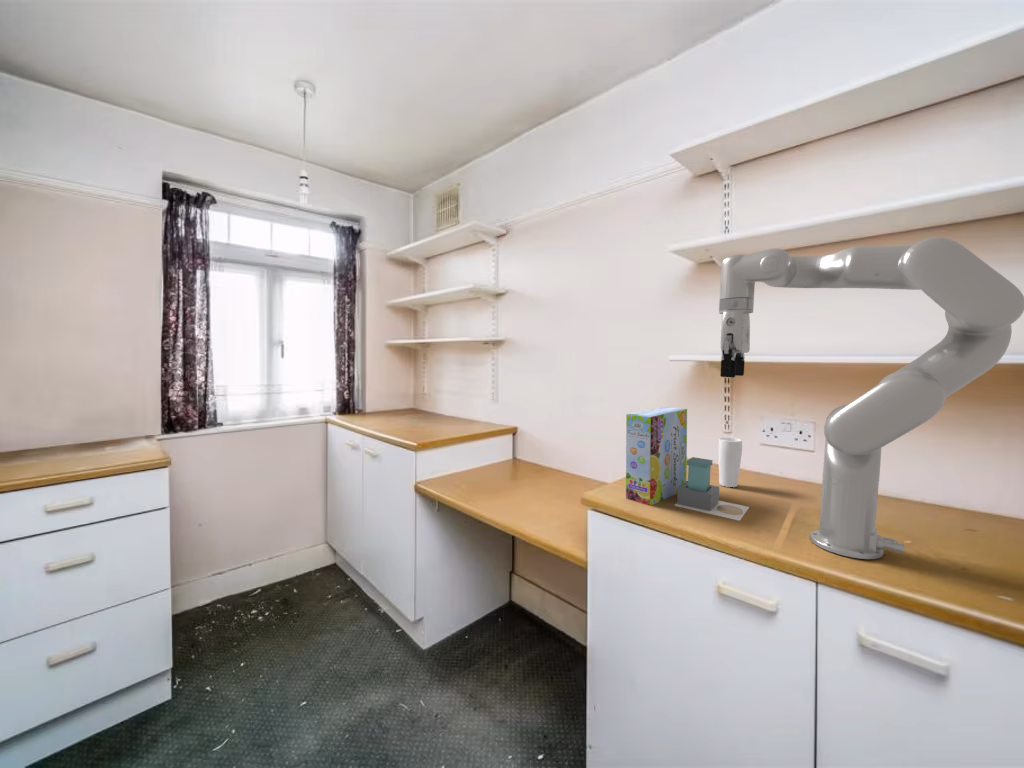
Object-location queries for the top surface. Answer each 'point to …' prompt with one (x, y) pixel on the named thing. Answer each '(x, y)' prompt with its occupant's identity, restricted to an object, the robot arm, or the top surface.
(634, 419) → the snack box
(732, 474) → the drinking glass
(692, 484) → the plug
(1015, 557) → the top surface
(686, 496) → the board
